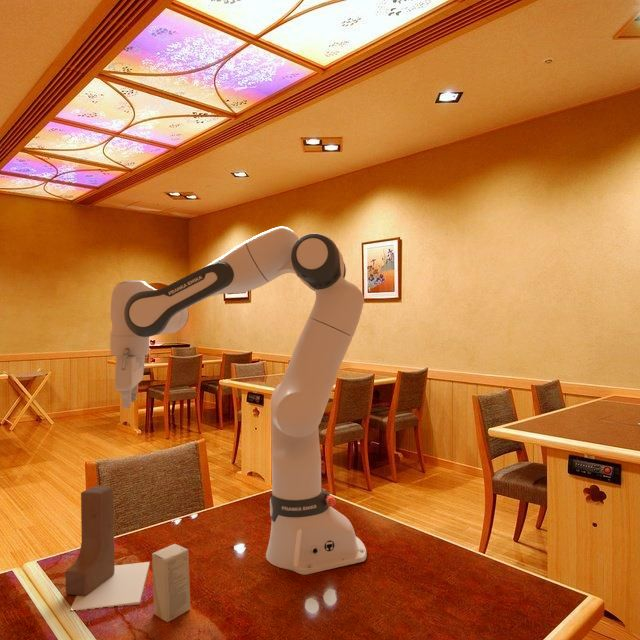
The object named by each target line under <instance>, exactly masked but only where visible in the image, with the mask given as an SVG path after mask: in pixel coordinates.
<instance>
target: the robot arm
mask: <svg viewBox="0 0 640 640" xmlns="http://www.w3.org/2000/svg"><path fill="white" fill-rule="evenodd" d="M346 271H347V268H346V264H345V261H344V257H343V255H342V253H341V251H340V249H339V248H338V246H337V245H336V243H335V242H334V240H332V239H331V238H330V237H328V236H327V235H324V234H322V233H314V232H313V233H311V232H310V233H308V234H305V235H303V236H301V237H300V238H299V236H298V234H296V232H295V231H294V230H292V229H290V228H289V227H287V226H277V227H274V228H271V229H268V230H266V231H264V232H261V233H259V234H257V235H254V236H252V237H251V238H249V239H247V240H245V241H243V242H242V243H240V244H238V245H237V246H235V247H233V248H232V249H231V250H229V251H227V252H226V253H225V254H223V255H221V256H220V257H218V258H217V259H215V260H213V261H212V262H211V263H209V264H207V265H205V266H203V267H202V268H200V269H197V270H196V271H193V272H192V273H190V274H188V275H186V276H184V277H182V278H180V279H178V280H177V281H174V282H173V283H170V284H168V285H166V286H164V287H162V288H159V289H156V288H154V286H153V287H152V286H151V285H150V284H148V283H147V282H146V281H144V280H141V279H140V280H139V279H138V280H137V279H135V280H127V281H126V280H125V281H122V282H118V283H117V284H116V285H115V286H114V287H113V289H112V292H111V298H110V299H111V300H110V321H111V332H110V337H109V338H110V342H109V343H110V347H109V348H110V352H109V353H110V355H111V356H115V371H114V372H115V374H114V375H115V376H114V387H115V391H117V392H118V391H119V392H120V396H121V405H122V407H121V408H122V409H131V407H132V403H136V401H137V400H138V388H139V383H141V382H142V381H143V379H144V371H145V361H146V355H147V356H148V355H150V338H151V337H153V336H158V335H159V336H161V335H171V334H175V333H178V332H179V331H181V330H182V329H184V327H185V326H186V325H187V323H188V321H189V316H190V315H189V308H190V307H192V306H194V305H196V304H198V303H200V302H202V301H204V300H206V299H208V298H211V297H215V296H218V295H224V294H242V293H243V294H244V293H247V292H250V291H253V290H256V289H257V288H261V287H263V286H265V285H266V284H268V283H270V282H272V281H273V280H275V279H277V278H279V277H280V276H283V275H285V274H295V275H296V276H297V277H298V278H299V279H300V281H301V282H302V283H303V284H304V285H306V286H307V287H308V288H309V289H310V290H312V291H314V293H315V301H314V304H313V307H312V309H311V311H310V312H309V316H308V317H307V320H306V322H305V324H304V326H303V329H302V331H301V333H300V335H299V338H298V339H297V343H296V344H295V347H294V349H293V352H292V354H291V357H290V360H289V362H288V365H287V368H286V370H285V372H284V375H283V378H282V380H281V382H280V383H279V384H277V385H276V387H275V388H273V391H272V394H271V396H270V433H271V434H270V436H271V438H270V440H271V441H270V442H271V443H270V444H271V484H272V485H271V492H270V497H269V498H270V499H269V515H270V519H271V525H270V535H269V541H268V545H267V549H266V553H265V559H266V560H267V562H269V563H270V564H271V565H273V566H275V567H277V568H281V569H285V570H289V571H292V572H295V573H296V574H300V575H303V576H304V575H305V576H306V575H310V574H314V573H319V572H323V571H326V570H327V571H328V570H332V569H336V568H337V569H338V568H340V567H345V566H349V565H355V564H357V563H362V562H363V563H364V562H365V561H366V559H367V556H368V555H367V548H366V546H365V544H364V543H363V541H362V539H360V538H359V537H358V536H356V532H355V529H354V527H353V525H352V523H351V521H350V520H349V519H348V518H347V516H345V514H342V513H341V512H339V511H338V510H337V509H335V508H334V506H335V505H336V504H337V503H336V502H337V501H336V499H335V497H334V496H333V495H331V494H330V492H328V491H327V490H326V489H325V488H322V458H321V457H322V456H321V447H320V446H321V445H320V435H319V433H320V432H319V426H320V424H321V422H322V419H323V416H324V413H325V411H326V408H327V405H328V403H329V400H330V396H331V394H332V391H333V388H334V385H335V382H336V379H337V375H338V372H339V369H340V367H341V365H342V364H343V363H342V362H343V360H344V358H345V355H346V353H347V351H348V349H349V346H350V344H351V342H352V339H353V337H354V336H355V333H356V331H357V328H358V325H359V323H360V319H361V315H362V311H363V307H364V301H365V297H364V294H363V292H362V290H360V289H359V287H358V286H357V285H355V284H353V283H352V282H350V281H347V280H346Z"/></svg>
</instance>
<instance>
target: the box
mask: <svg viewBox="0 0 640 640" xmlns="http://www.w3.org/2000/svg"><path fill="white" fill-rule="evenodd" d="M189 555H190V554H189V549H188V548H186V547H183V546H182V545H179V544H176V543H173V544H171V545H168V546H166V547H164V548H162V549H161V548H160V549H158V550H156V551H155V552H152V554H151V560H152V561H151V565H152V566H151V567H152V590H153V591H152V592H153V593H152V595H153V599H152V600H153V601H152V602H153V614H154V615H155V616H157V617H158V618H159V619H161V620H162V621H164V622H166V623H169V622H170V621H172V620H175V619H176V618H178V617H179V616H181V615H183V614H185V613H186V612H188V611H189V610H190V609H191V594H190V593H191V590H190V588H191V587H190V586H191V585H190V564H189V561H190V559H189V558H190V556H189Z"/></svg>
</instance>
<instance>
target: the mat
mask: <svg viewBox="0 0 640 640" xmlns="http://www.w3.org/2000/svg"><path fill="white" fill-rule="evenodd" d="M150 562H151V561H144V562H134V563H126V564H116V565H114V574H113V575H112V576H111V577H110V578H108V579H107V580H106V581H104V582H103V583H102V584H100V585H99V586H98V587H96V588H95V589H94V590H93V591H91V592H90V593H89V594H87V595H86V596H79V595H75V598H74V601H73V602H72V605H71V606H70V608H72V609H73V610H76V611H75V612H77V611H79V610H80V611H88V610H87V609H90V610H96V609H95V608H99V609H104V608H103V607H108V608H114V606H118V607H124V605H125V607H126V605H127V606H136V605H140V604H141V600H142V596H143V593H144V588H145V584H146V580H147V576H148V573H149V569H150V565H151V563H150Z"/></svg>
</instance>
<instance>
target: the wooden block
mask: <svg viewBox="0 0 640 640" xmlns="http://www.w3.org/2000/svg"><path fill="white" fill-rule="evenodd" d="M114 512H115V511H114V487H113V486H102V485H95V486H92V487H90V488H88V489H85V490H83V491H82V492H81V493H80V516H81V517H80V518H81V521H80V523H81V525H80V526H81V529H80V530H81V543H80V549H79V550H80V551H79V554H78V556H77V558H76V560H75V562H74V563H72V565H71V566H69V567H68V568H67V569H66V570H65V573H64V574H65V577H64V578H65V594H66V595H71V596H72V595H74V596H77V595H79V596H86V595H87V594H89V593H90V592H91V591H93V590H94V589H95V588H96V587H98V586H99V585H100V584H102V583H103V582H104V581H106V580H107V579H108V578H110V577H111V576H112V575H113V574H114V566H115V529H114V528H115V524H114V523H115V518H114V516H115V515H114V514H115V513H114Z"/></svg>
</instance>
